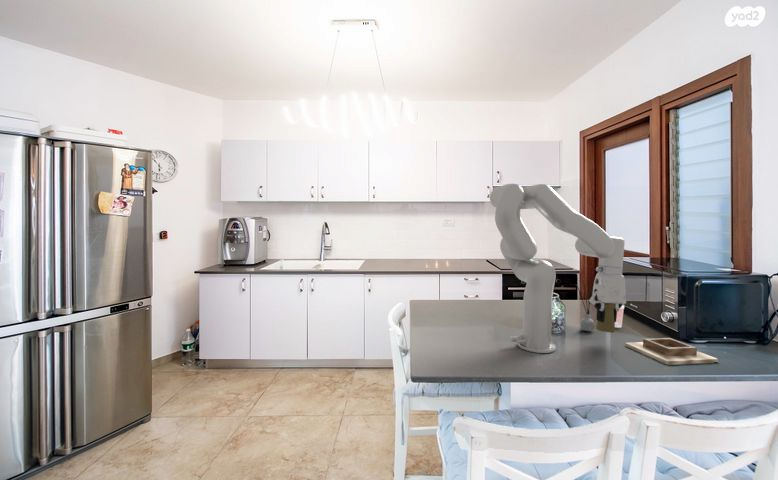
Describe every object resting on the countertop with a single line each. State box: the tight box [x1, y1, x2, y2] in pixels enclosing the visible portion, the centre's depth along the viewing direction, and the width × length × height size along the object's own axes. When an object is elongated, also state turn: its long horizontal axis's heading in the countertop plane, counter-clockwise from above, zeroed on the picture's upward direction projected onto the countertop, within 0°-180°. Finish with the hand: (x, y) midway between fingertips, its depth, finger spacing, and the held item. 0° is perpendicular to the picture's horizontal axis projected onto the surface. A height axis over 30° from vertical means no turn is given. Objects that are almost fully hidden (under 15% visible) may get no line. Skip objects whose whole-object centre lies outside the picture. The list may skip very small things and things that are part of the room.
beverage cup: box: [614, 305, 625, 329], centre depth 162 cm, size 6×6×14 cm
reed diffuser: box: [576, 282, 595, 332], centre depth 154 cm, size 10×7×20 cm
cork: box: [595, 303, 616, 333], centre depth 136 cm, size 6×6×11 cm
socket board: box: [624, 337, 719, 366], centre depth 129 cm, size 18×18×4 cm
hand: (606, 320), depth 136 cm, fingers closed on cork, 4 cm apart
